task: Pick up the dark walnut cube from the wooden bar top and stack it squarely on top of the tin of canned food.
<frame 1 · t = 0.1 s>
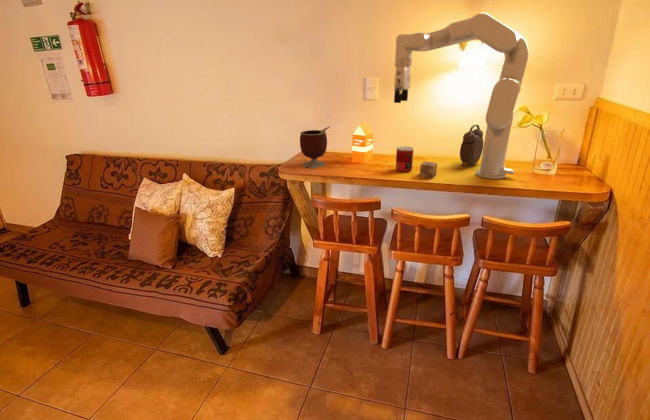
hand: (400, 101, 171), 31 cm above the bar counter, tool pointing down, fingers open, 9 cm apart
walnut cube: (427, 176, 163), on the bar counter
orange juice: (362, 161, 191), on the bar counter
alarm clock: (468, 165, 179), on the bar counter
canned food: (403, 170, 172), on the bar counter
mate gourd: (315, 165, 185), on the bar counter
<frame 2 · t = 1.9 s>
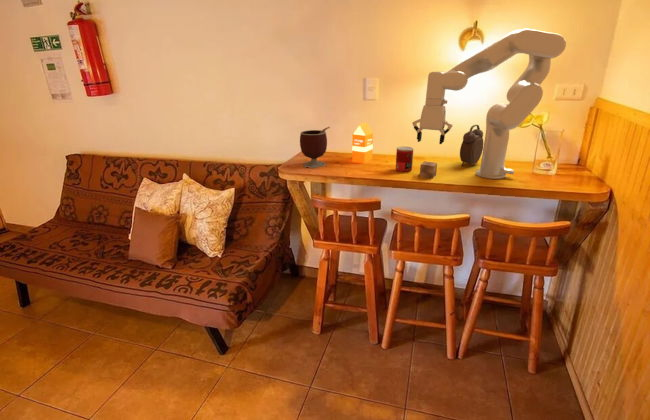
hand: (429, 142, 157), 16 cm above the bar counter, tool pointing down, fingers open, 9 cm apart
nothing on the bar counter moved.
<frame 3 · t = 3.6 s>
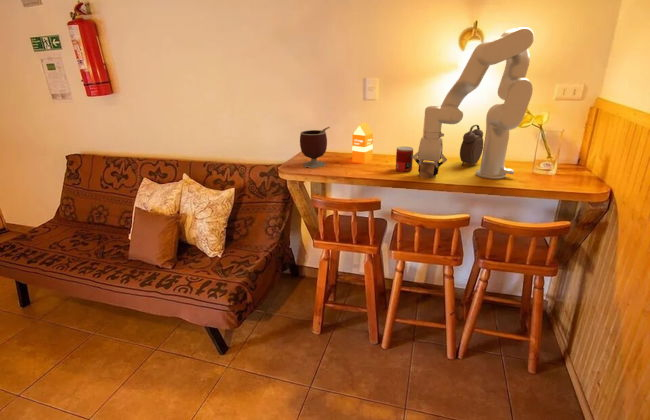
hand: (427, 174, 162), 1 cm above the bar counter, tool pointing down, fingers closed on walnut cube, 6 cm apart
walnut cube: (427, 176, 163), on the bar counter, touching gripper
everything else where it was.
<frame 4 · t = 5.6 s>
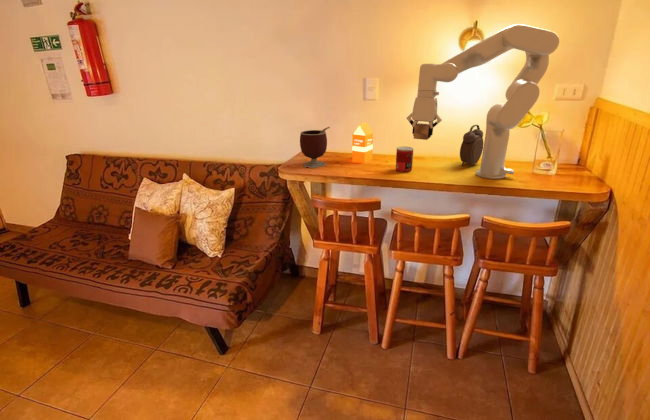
hand: (422, 135, 159), 18 cm above the bar counter, tool pointing down, fingers closed on walnut cube, 6 cm apart
walnut cube: (421, 138, 159), point 17 cm above the bar counter, touching gripper
everything else where it was.
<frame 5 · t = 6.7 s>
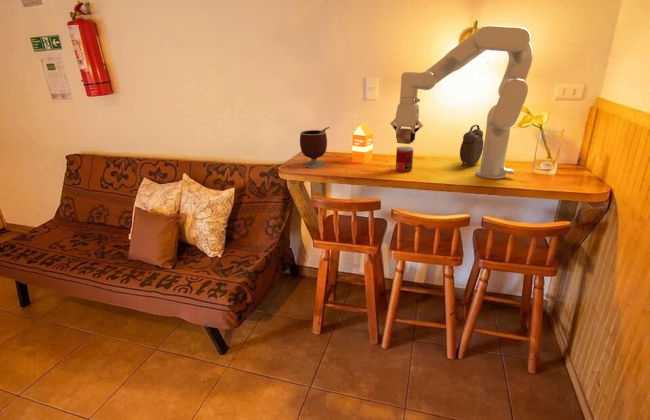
hand: (405, 140, 166), 15 cm above the bar counter, tool pointing down, fingers closed on walnut cube, 6 cm apart
walnut cube: (405, 142, 167), point 14 cm above the bar counter, touching gripper
everything else where it was.
when the fingers open (13 cm above the bar counter, at t = 7.4 s): walnut cube drops 1 cm, resting on canned food.
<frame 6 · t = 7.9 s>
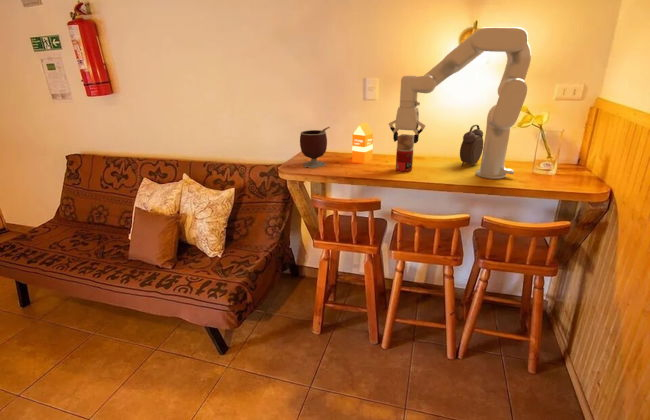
hand: (405, 142, 167), 14 cm above the bar counter, tool pointing down, fingers open, 9 cm apart
walnut cube: (405, 148, 168), point 11 cm above the bar counter, touching canned food
canned food: (403, 170, 172), on the bar counter, touching walnut cube
everything else where it was.
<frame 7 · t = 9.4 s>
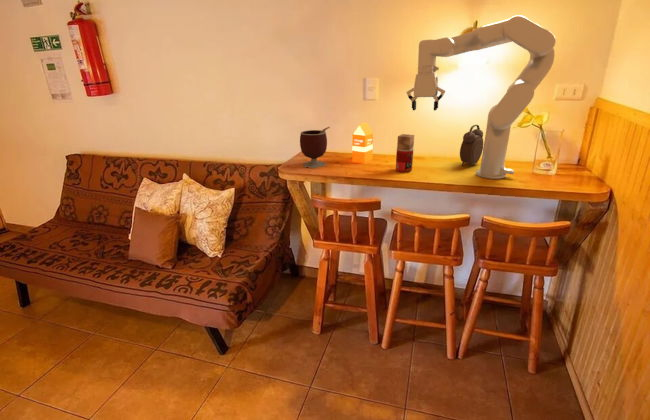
hand: (424, 110, 163), 28 cm above the bar counter, tool pointing down, fingers open, 9 cm apart
nothing on the bar counter moved.
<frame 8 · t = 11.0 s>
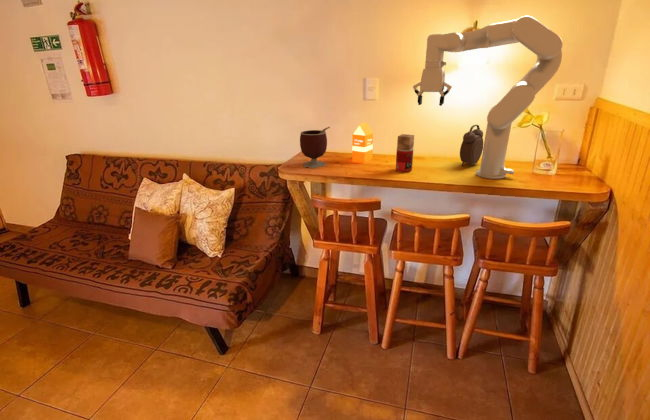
hand: (430, 105, 163), 30 cm above the bar counter, tool pointing down, fingers open, 9 cm apart
nothing on the bar counter moved.
at the end: walnut cube 0.1 cm off-centre on the canned food, point 11.2 cm above the canned food's base; walnut cube touching canned food; walnut cube tilted 0° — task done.
